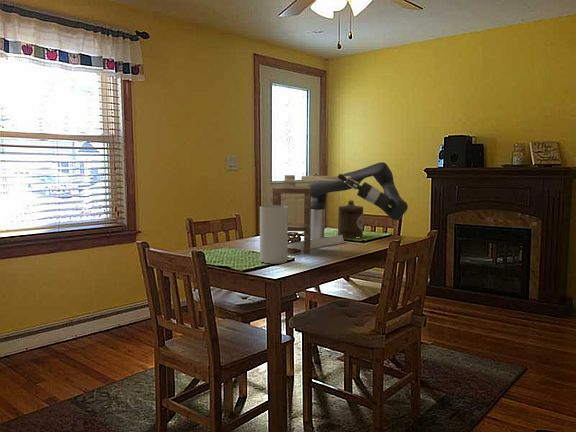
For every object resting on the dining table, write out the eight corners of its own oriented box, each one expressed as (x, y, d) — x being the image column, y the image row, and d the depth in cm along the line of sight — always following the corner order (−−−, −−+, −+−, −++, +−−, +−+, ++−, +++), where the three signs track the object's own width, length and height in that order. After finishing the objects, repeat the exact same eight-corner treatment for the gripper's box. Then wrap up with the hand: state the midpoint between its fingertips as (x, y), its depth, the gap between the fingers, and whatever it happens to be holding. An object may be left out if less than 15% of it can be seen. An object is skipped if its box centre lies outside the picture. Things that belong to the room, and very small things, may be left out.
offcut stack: (283, 186, 265) (283, 175, 264) (295, 186, 264) (295, 175, 264) (282, 187, 260) (282, 175, 260) (294, 187, 260) (294, 175, 259)
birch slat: (302, 180, 256) (302, 176, 256) (350, 180, 254) (350, 176, 254) (301, 180, 252) (301, 176, 252) (350, 180, 250) (350, 176, 250)
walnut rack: (276, 247, 270) (276, 186, 267) (310, 248, 269) (310, 186, 265) (272, 253, 254) (272, 188, 251) (309, 253, 253) (309, 188, 249)
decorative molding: (288, 253, 270) (301, 250, 263) (286, 244, 270) (299, 241, 263) (330, 245, 294) (344, 243, 287) (329, 237, 294) (342, 234, 287)
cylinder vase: (269, 257, 242) (269, 204, 239) (292, 260, 235) (292, 206, 233) (254, 262, 231) (254, 207, 228) (278, 265, 225) (278, 208, 222)
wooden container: (364, 238, 301) (365, 201, 298) (338, 238, 301) (339, 201, 299) (361, 235, 316) (361, 199, 313) (336, 235, 316) (337, 199, 313)
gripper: (371, 185, 258) (342, 168, 259) (373, 187, 244) (342, 169, 245) (364, 198, 260) (334, 181, 260) (365, 200, 245) (334, 182, 246)
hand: (338, 175), depth 252 cm, fingers closed on birch slat, 4 cm apart
